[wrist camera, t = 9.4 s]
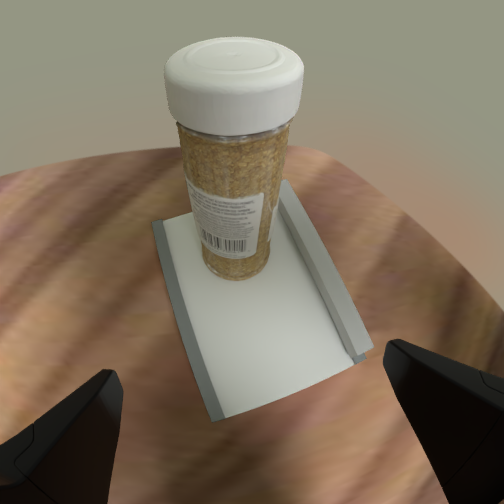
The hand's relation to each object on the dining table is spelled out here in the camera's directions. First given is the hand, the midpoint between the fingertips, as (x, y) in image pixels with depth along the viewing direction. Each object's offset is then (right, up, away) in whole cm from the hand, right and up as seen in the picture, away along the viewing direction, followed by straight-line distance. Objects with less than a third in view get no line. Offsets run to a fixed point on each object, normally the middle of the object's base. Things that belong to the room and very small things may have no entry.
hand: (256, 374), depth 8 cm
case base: (0, +1, +11) cm, 11 cm away
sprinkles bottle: (-1, +4, +11) cm, 12 cm away
